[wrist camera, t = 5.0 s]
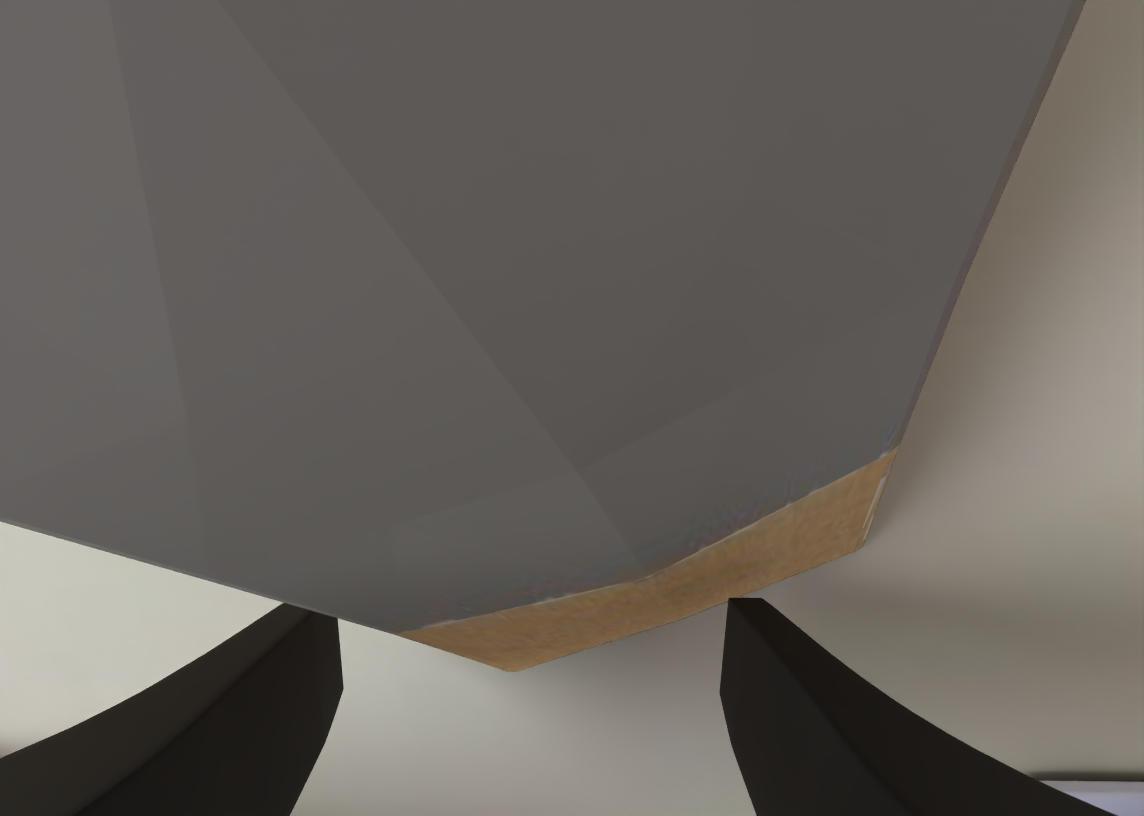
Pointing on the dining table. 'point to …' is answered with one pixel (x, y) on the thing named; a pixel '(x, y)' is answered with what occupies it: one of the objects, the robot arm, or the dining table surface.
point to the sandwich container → (489, 290)
